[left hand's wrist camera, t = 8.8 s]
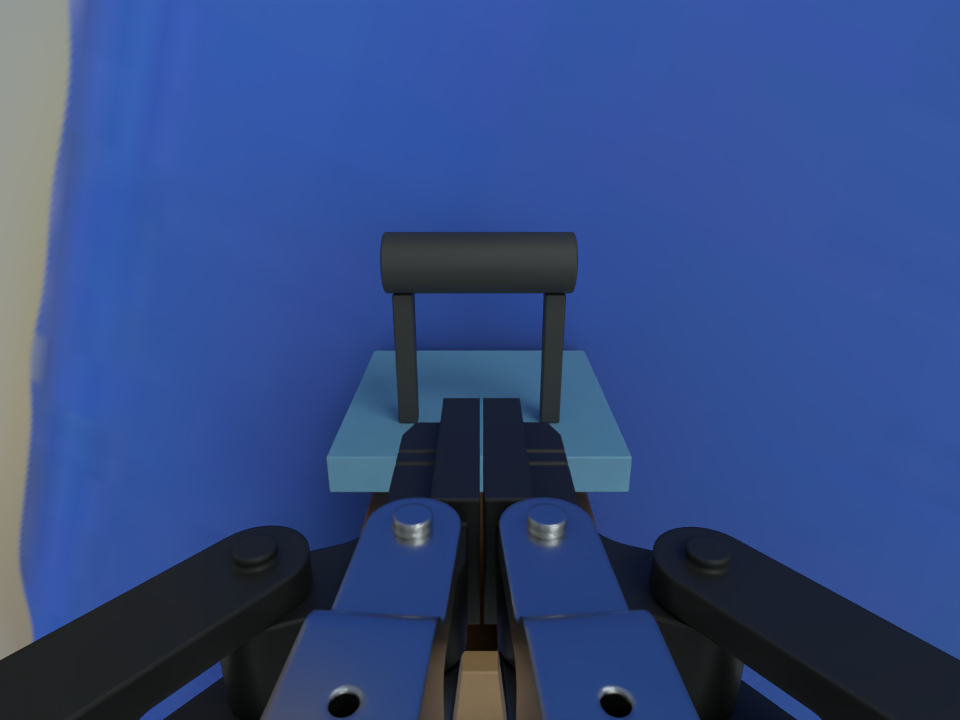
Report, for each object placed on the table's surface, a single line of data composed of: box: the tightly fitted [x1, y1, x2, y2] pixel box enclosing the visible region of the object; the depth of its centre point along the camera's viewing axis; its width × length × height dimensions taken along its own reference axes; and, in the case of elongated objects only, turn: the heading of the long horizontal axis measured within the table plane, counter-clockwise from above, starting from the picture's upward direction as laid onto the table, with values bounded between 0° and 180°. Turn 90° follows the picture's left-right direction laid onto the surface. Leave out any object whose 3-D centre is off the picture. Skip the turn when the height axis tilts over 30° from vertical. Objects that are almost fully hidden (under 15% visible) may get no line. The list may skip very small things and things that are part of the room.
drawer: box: [326, 232, 632, 651], centre depth 24 cm, size 26×9×9 cm, turn 0°
